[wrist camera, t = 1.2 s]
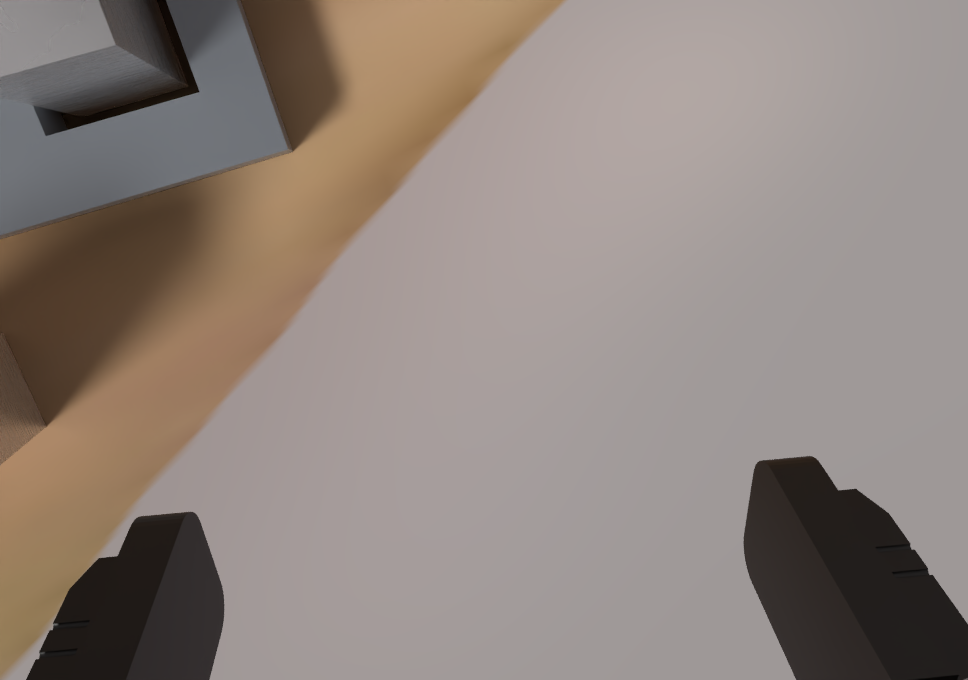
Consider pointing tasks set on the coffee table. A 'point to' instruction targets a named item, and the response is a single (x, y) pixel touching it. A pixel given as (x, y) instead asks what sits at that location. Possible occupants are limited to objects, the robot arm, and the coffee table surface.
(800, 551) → the robot arm
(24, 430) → the block
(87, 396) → the coffee table surface
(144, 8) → the block
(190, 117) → the grey square hole board
